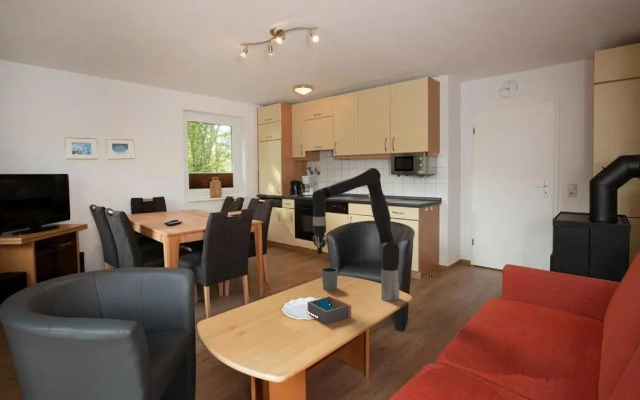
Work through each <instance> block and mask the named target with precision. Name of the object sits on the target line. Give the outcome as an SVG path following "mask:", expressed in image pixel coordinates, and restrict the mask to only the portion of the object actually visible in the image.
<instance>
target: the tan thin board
mask: <svg viewBox="0 0 640 400" xmlns="http://www.w3.org/2000/svg"><path fill="white" fill-rule="evenodd" d="M327 297H329V303H330V302H332V305H330V306H334V305H336V307H335V308H338V307H342V306H345V305H347V318H352V304H349V303H348V302H345V301H344V300H342V299H339V298H337V297H335V296H333V295H330V294H329V295H327ZM335 308H334V309H335Z"/></svg>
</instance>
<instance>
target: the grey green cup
mask: <svg viewBox="0 0 640 400" xmlns="http://www.w3.org/2000/svg"><path fill="white" fill-rule="evenodd" d="M320 272H321V279H322V280H321V281H322V289H323V290H324V291H327V292H331V291H336V290H337V289H338V272H339V270H338V268H335V267H324V268H322V269H321V271H320Z"/></svg>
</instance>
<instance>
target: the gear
mask: <svg viewBox="0 0 640 400" xmlns="http://www.w3.org/2000/svg"><path fill="white" fill-rule="evenodd" d="M324 298H325V297H322V303H321V300H318V302H319V303H320V305H319V303H317V304H316V305H317V306H319V307H320V308H322V309H324V310H326V311H328V310H332V309H334V308H335V307H336V305H334V306H330V305H332V302H330V303H327V302H328V301H329V300H328V299H326V302H324V300H325V299H324ZM329 304H330V305H329Z"/></svg>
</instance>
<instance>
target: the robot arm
mask: <svg viewBox="0 0 640 400" xmlns="http://www.w3.org/2000/svg"><path fill="white" fill-rule="evenodd" d="M381 178H382V177H381V172H380V171H379V170H378V168H375V167H369V168H367V169H366V170H365V171H363V172H362V173H360V174H358V175H356V176H353V177H351V178H346V179H343V180H340V181H337V182H334V183H332V184H330V185H327V186H324V187H321V188H319V189H316V190H314V191H313V192H312V195H311V197H312V209H313V210H312V232H313V233H314V234H313V236H312V237H311V240H312V241H313V244H314V247H316V248H317V249H316V251H317V255H322V254H323V249H324V248H325V247H326V245H327V243H328V241H329V240H328V238H327V239H326V235H325V234H326V232H327V218H326V217H327V215H326V214H327V213H326V206H325V204H326V203H325V200H327V199H330V198H332V197H338V196H341V195H343V194H346V193H347V192H349V191H352V190H355V189H357V188H361V187H362V188H363V187H367V189H368V193H369V198H370V199H369V201H370V208H371V212H372V216H373V220H374V224H375V227H376V229H377V232H378V236H379V237H378V238H379V244H380V250H381V252H382V262H381V271H380V273H381V274H380V275H381V277H380V278H381V279H380V280H381V281H380V282H381V289H380V291H381V292H380V293H381V295H380V298H381V300H383V301H386V302H395V301H397V300H398V299H400V282H399V266H400V247H399V245H398V243H396V242H395V238H394V236H393V232H392V226H391V225H392V224H391V223H392V222H391V220H392V219H391V213H390V209H389V205H388V202H387V200H386V197H385V194H384V192H383V188H382V181H381Z"/></svg>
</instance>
